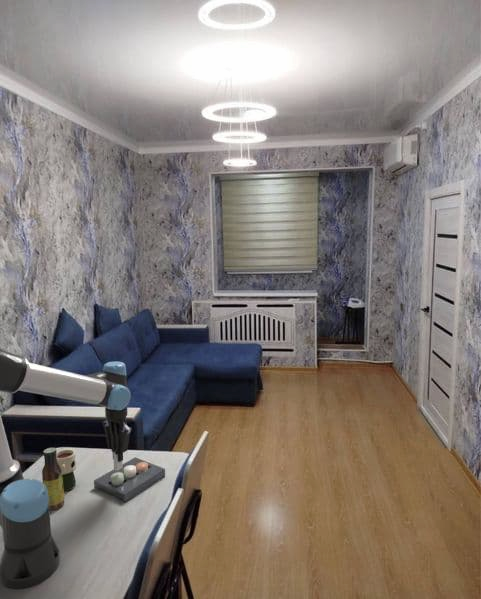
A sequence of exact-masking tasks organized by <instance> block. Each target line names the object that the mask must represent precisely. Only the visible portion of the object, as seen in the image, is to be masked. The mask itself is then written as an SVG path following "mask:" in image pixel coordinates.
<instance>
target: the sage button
mask: <svg viewBox="0 0 481 599" xmlns="http://www.w3.org/2000/svg"><path fill="white" fill-rule="evenodd" d="M122 484H124V474H123V473H121V472H117V473H114V474H112V475H111V485H112V486H115V487H119V486H120V485H122Z"/></svg>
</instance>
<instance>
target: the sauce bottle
mask: <svg viewBox="0 0 481 599" xmlns="http://www.w3.org/2000/svg"><path fill="white" fill-rule="evenodd" d="M57 452H58V450H57V448H56V447H48V448H46V449H44V450H43V459H44V465H43V468H42V471H41V474H42V477H41V478H42V479H41V482H42V483H43V484H44V485H45V486H46V488H47V492H48V495H49V511H53V510H54V511H55V510H57V509H60V508H61V507H63V505H64V504H65V492H64V491H65V490H64V488H63V478H62V469H61V467H60V465H59V463H58V461H57V457H56V453H57Z"/></svg>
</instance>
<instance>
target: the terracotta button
mask: <svg viewBox="0 0 481 599" xmlns="http://www.w3.org/2000/svg"><path fill="white" fill-rule="evenodd" d="M146 462H147V461H146ZM146 462H140V463H138V464H137V465H136V470H138V471H140V472H143V471H145V470H147V469H148V463H146Z"/></svg>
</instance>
